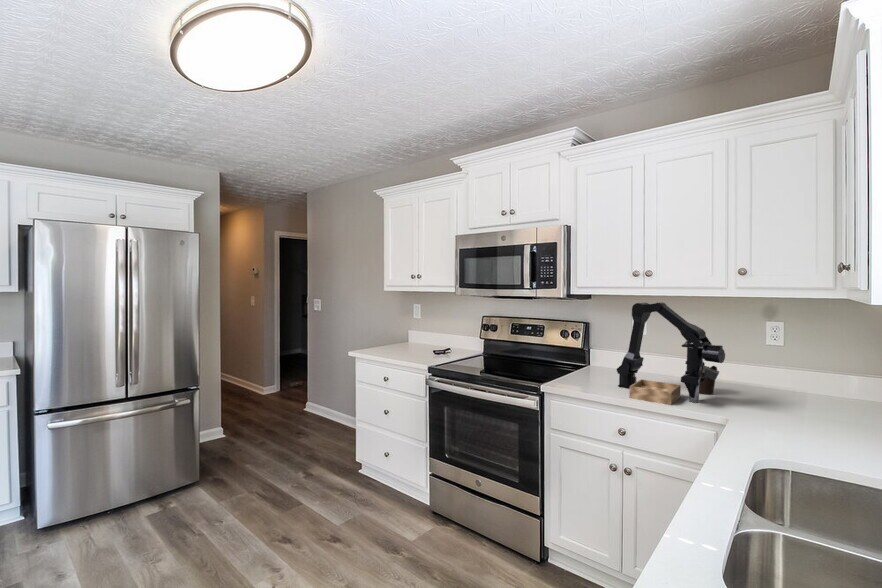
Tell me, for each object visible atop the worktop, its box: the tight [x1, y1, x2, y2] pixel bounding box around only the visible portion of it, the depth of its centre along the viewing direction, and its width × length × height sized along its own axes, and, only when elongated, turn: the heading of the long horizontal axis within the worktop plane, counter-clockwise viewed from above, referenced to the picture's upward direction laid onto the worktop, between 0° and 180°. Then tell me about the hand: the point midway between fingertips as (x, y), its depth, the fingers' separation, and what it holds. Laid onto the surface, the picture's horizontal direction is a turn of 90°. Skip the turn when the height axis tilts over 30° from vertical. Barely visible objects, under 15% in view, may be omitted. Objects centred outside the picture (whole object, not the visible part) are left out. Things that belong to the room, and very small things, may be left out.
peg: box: [688, 385, 700, 404], centre depth 183 cm, size 4×4×8 cm
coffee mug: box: [699, 376, 716, 396], centre depth 198 cm, size 12×9×10 cm
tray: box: [628, 379, 682, 406], centre depth 190 cm, size 16×16×5 cm
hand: (693, 396), depth 183 cm, fingers closed on peg, 4 cm apart
